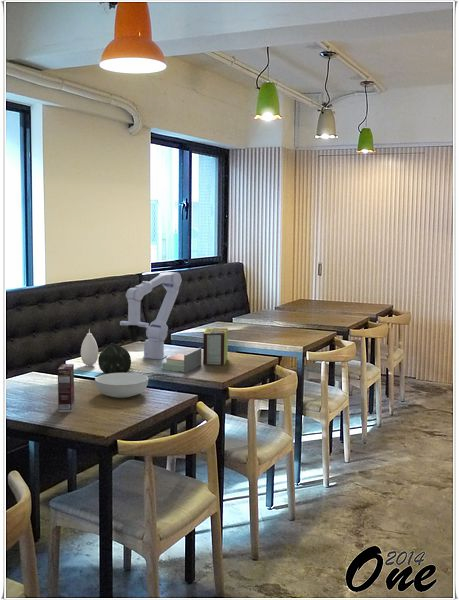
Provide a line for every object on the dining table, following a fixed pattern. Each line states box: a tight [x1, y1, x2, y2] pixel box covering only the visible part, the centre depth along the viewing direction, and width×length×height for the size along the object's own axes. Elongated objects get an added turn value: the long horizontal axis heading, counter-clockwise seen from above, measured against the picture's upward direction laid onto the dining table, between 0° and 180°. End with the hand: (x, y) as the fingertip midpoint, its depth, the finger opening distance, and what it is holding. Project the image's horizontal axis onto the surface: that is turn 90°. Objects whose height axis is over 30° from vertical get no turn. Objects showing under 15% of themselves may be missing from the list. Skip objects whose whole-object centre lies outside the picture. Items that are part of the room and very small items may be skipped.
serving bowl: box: [94, 372, 149, 399], centre depth 261 cm, size 21×21×7 cm
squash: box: [97, 342, 132, 375], centre depth 295 cm, size 14×15×15 cm
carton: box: [165, 353, 186, 365], centre depth 311 cm, size 10×12×5 cm
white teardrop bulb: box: [80, 328, 99, 368], centre depth 308 cm, size 8×8×18 cm
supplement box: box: [57, 363, 76, 413], centre depth 240 cm, size 9×5×16 cm, turn 5°
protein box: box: [202, 327, 229, 366], centre depth 323 cm, size 10×15×16 cm
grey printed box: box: [161, 347, 203, 373], centre depth 310 cm, size 12×18×8 cm
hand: (134, 341), depth 318 cm, fingers closed
